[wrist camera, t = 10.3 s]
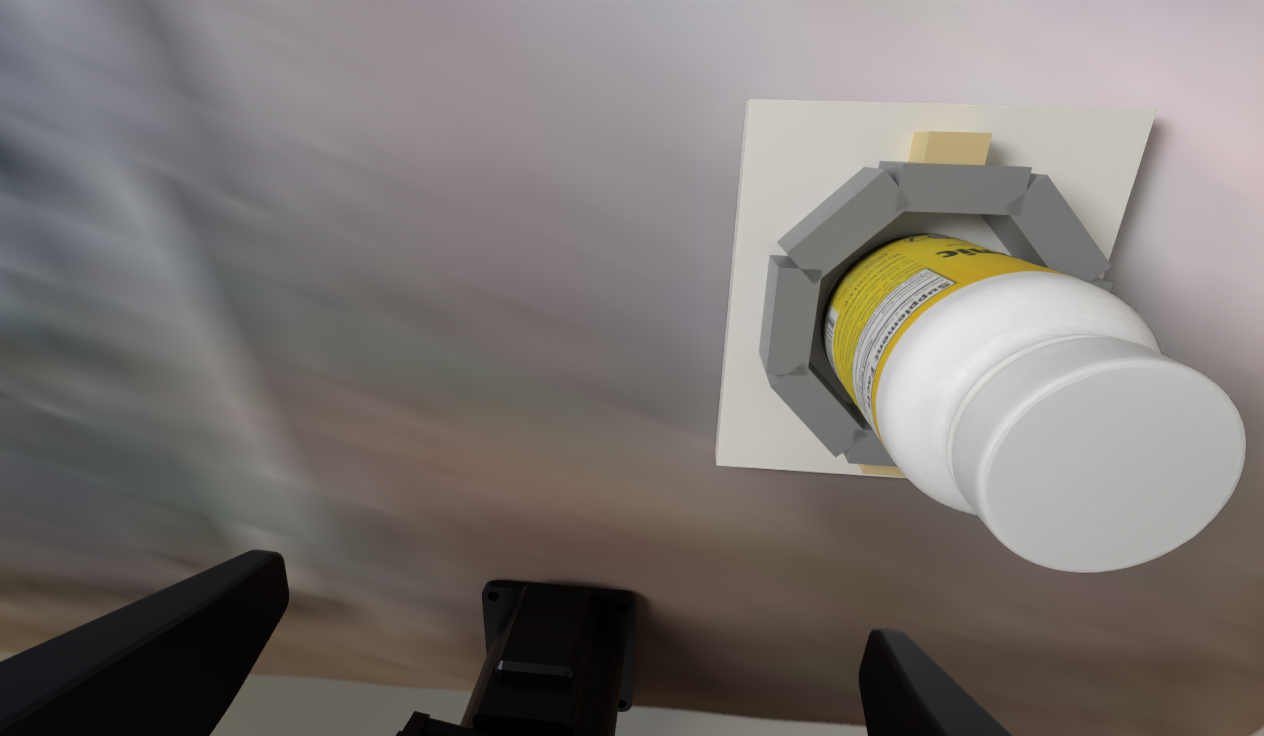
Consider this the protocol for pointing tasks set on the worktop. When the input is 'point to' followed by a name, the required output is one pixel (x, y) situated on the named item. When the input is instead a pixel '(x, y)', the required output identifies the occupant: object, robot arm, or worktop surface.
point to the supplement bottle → (1030, 402)
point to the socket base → (882, 208)
